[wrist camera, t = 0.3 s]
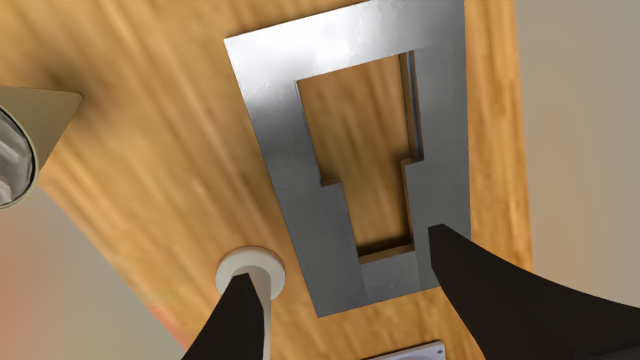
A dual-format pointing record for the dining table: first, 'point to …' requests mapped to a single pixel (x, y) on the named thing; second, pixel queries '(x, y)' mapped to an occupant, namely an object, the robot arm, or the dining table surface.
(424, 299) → the dining table surface
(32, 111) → the ice cream cone
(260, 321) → the robot arm
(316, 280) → the keyhole plate
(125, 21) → the dining table surface
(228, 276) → the peg
